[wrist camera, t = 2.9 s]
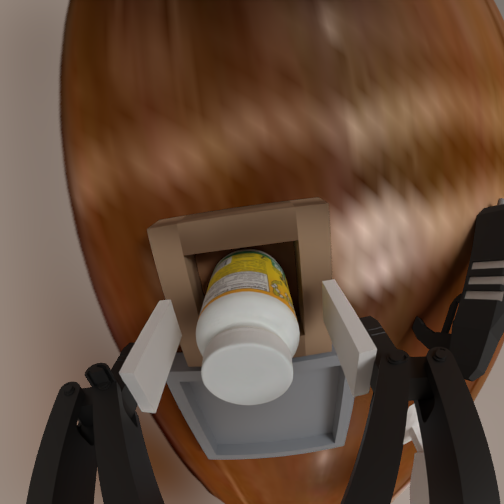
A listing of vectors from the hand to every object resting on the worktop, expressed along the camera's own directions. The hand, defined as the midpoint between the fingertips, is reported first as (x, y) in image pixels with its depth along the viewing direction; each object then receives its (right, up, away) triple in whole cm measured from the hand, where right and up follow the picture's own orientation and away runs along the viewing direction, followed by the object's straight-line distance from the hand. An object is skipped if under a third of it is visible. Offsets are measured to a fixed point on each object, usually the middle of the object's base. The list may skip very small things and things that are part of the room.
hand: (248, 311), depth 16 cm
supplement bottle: (0, +1, +4) cm, 4 cm away
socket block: (0, +1, +4) cm, 4 cm away
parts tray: (+2, -12, +8) cm, 15 cm away
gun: (+19, +3, +4) cm, 20 cm away
